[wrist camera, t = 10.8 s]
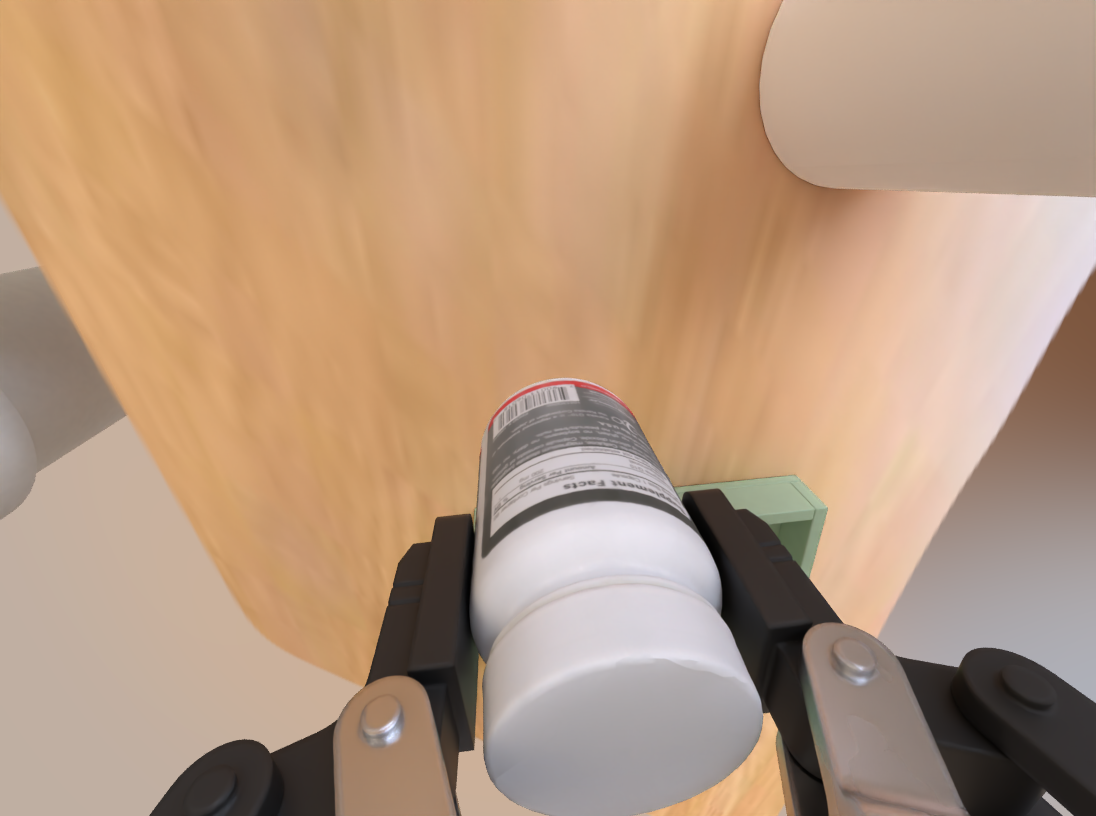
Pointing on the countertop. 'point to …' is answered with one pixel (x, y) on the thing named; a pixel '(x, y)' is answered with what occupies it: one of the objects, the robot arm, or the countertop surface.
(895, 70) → the cylindrical container
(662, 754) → the pill bottle
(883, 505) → the countertop surface
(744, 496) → the tray
